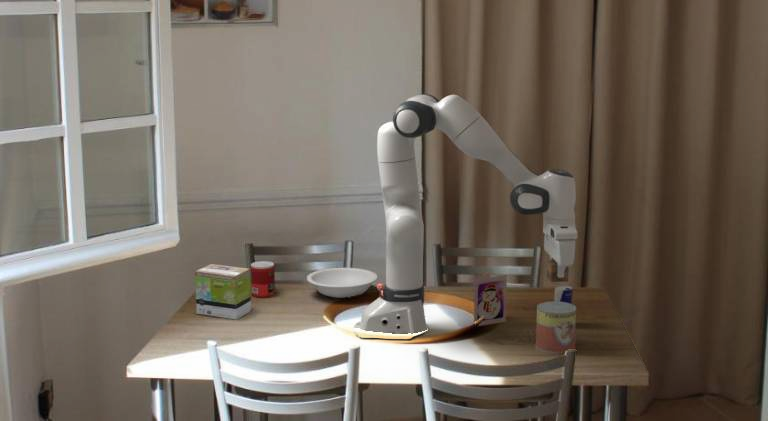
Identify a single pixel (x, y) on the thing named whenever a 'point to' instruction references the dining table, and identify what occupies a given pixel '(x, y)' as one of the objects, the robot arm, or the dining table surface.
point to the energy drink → (563, 294)
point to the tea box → (223, 291)
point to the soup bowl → (342, 281)
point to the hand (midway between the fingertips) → (557, 274)
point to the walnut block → (552, 272)
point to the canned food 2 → (555, 326)
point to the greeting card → (490, 299)
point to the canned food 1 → (262, 279)
